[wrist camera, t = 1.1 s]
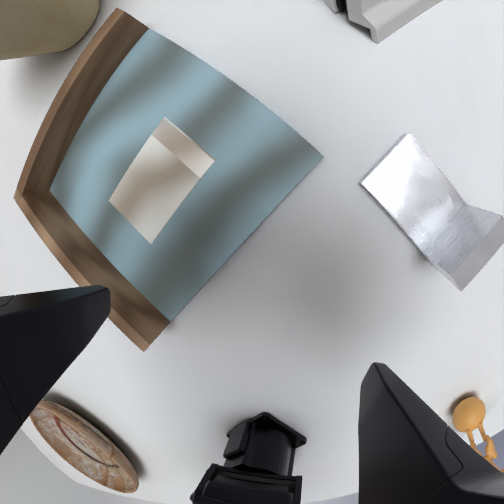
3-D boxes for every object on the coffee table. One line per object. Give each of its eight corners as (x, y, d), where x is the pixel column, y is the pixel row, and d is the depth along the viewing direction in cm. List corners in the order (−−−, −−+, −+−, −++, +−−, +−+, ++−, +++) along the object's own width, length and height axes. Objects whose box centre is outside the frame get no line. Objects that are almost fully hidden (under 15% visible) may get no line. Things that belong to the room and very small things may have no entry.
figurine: (492, 373, 20) (537, 450, 9) (494, 401, 21) (528, 472, 9) (428, 412, 23) (453, 501, 11) (436, 436, 23) (456, 514, 12)
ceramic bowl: (82, 458, 42) (71, 472, 38) (25, 377, 37) (10, 391, 32) (167, 488, 37) (157, 507, 32) (106, 402, 32) (87, 425, 27)
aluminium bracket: (467, 215, 17) (511, 232, 12) (427, 260, 19) (461, 291, 13) (404, 134, 17) (437, 123, 11) (359, 182, 19) (379, 187, 13)
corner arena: (323, 156, 19) (327, 152, 14) (166, 326, 25) (143, 352, 21) (144, 26, 18) (116, 7, 14) (44, 191, 24) (13, 197, 20)
